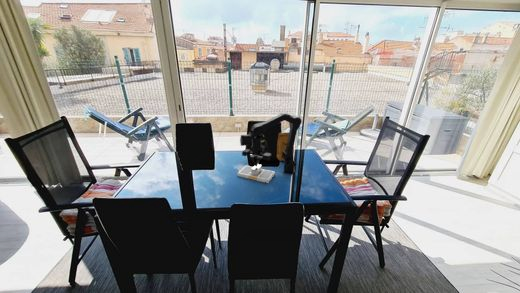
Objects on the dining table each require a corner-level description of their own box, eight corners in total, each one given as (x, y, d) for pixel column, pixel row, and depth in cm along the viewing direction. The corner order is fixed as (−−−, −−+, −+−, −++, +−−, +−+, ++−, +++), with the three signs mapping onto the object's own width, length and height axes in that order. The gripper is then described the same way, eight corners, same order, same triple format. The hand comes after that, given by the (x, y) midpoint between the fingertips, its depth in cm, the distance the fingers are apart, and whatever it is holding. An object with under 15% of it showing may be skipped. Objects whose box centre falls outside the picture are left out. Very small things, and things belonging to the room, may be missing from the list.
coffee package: (294, 161, 166) (296, 134, 158) (278, 162, 165) (279, 134, 156) (290, 156, 175) (293, 130, 167) (275, 156, 174) (277, 130, 165)
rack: (274, 174, 148) (274, 171, 147) (268, 183, 137) (268, 180, 136) (245, 167, 156) (245, 165, 155) (237, 175, 145) (237, 173, 144)
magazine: (273, 156, 170) (265, 140, 164) (257, 163, 171) (249, 147, 165) (272, 154, 173) (264, 138, 168) (257, 161, 175) (249, 145, 169)
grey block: (261, 172, 149) (261, 165, 147) (256, 178, 142) (256, 170, 140) (256, 171, 151) (256, 163, 148) (251, 176, 144) (251, 168, 142)
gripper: (274, 142, 141) (273, 163, 147) (249, 138, 148) (249, 158, 154) (268, 148, 132) (267, 171, 138) (241, 143, 139) (241, 165, 145)
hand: (256, 166), depth 144 cm, fingers closed
